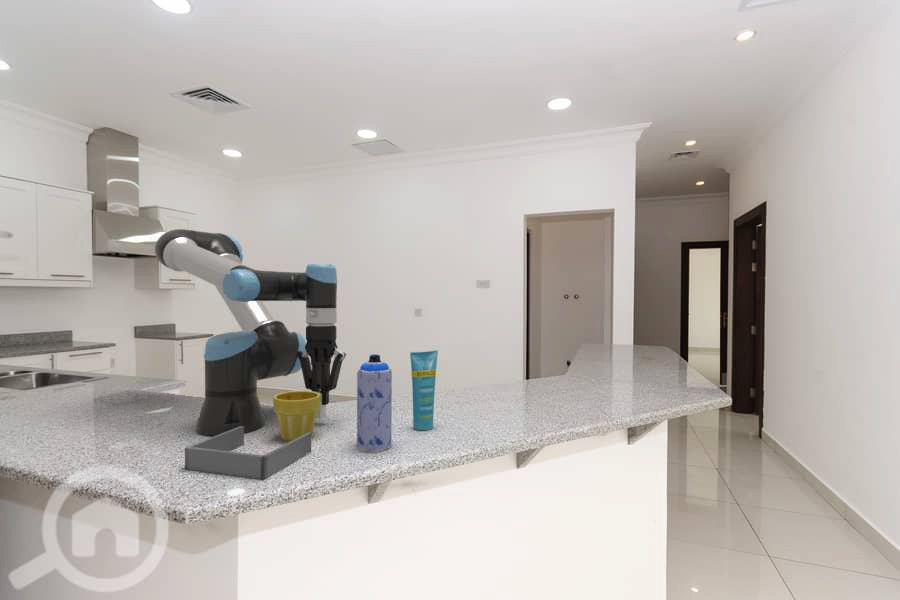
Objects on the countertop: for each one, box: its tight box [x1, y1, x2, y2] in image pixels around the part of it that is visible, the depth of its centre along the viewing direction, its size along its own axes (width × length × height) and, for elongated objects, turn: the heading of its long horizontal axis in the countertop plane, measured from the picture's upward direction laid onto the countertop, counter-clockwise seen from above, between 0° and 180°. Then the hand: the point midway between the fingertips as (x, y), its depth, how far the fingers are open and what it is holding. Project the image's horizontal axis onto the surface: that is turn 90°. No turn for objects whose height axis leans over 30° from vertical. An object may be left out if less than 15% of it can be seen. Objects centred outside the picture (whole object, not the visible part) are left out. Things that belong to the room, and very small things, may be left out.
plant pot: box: [272, 390, 320, 442], centre depth 106 cm, size 10×10×10 cm
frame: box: [184, 426, 312, 481], centre depth 91 cm, size 18×15×4 cm
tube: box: [409, 350, 439, 431], centre depth 114 cm, size 7×5×19 cm, turn 123°
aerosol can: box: [355, 354, 393, 453], centre depth 100 cm, size 8×8×20 cm
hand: (320, 417), depth 116 cm, fingers closed
